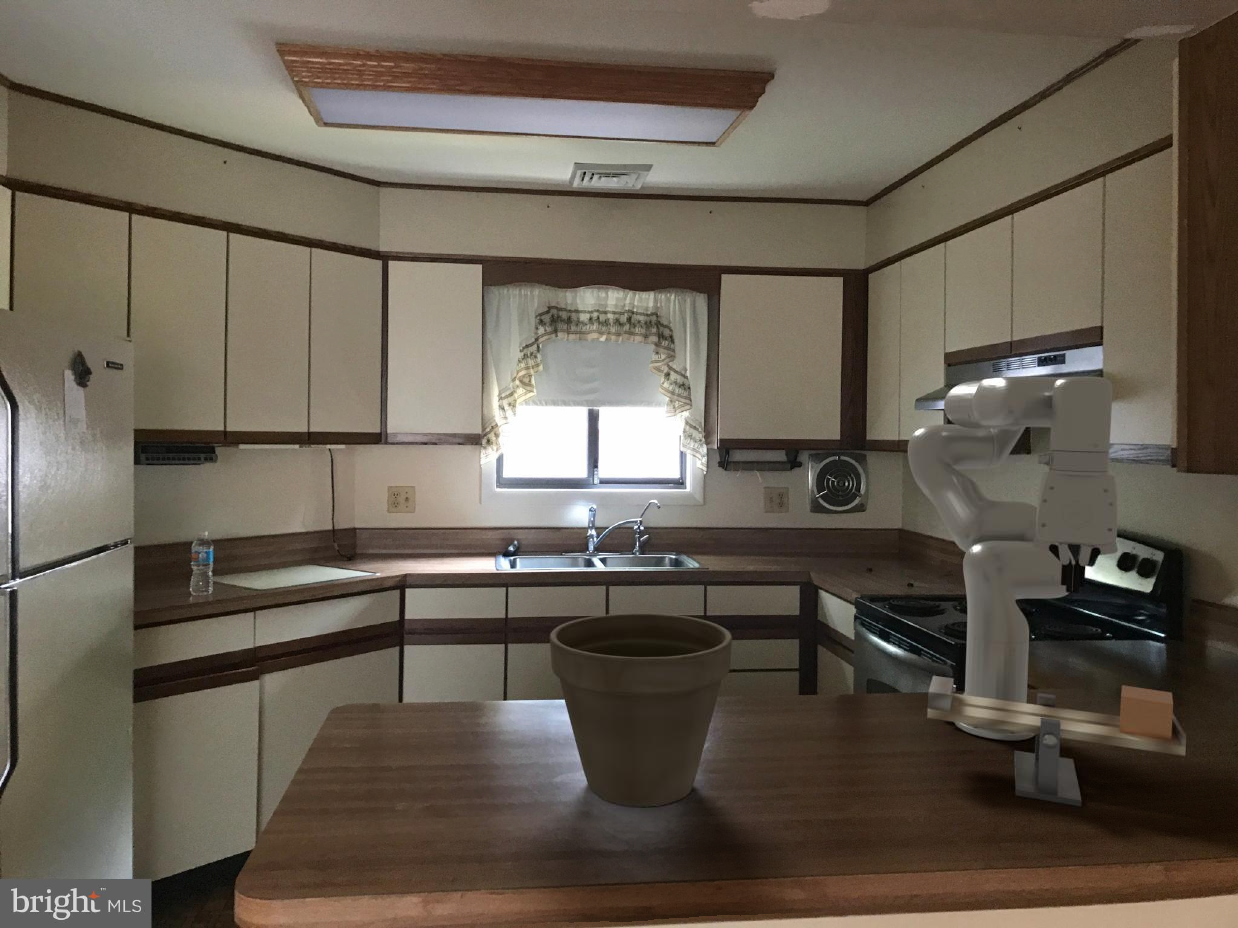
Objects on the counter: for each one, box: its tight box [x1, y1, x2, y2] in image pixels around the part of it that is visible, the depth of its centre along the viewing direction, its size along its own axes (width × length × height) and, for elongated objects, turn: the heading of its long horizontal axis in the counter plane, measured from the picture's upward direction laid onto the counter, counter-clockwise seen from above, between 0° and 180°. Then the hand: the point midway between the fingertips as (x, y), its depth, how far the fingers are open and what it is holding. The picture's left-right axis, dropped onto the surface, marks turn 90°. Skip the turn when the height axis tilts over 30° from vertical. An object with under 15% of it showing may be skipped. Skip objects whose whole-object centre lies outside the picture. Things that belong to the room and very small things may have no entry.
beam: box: [926, 675, 1187, 757], centre depth 125 cm, size 32×10×4 cm, turn 66°
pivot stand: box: [1014, 692, 1083, 807], centre depth 125 cm, size 8×16×10 cm, turn 156°
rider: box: [1119, 684, 1174, 741], centre depth 120 cm, size 6×6×6 cm
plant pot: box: [549, 612, 733, 808], centre depth 121 cm, size 25×25×22 cm
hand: (1072, 591), depth 125 cm, fingers closed
